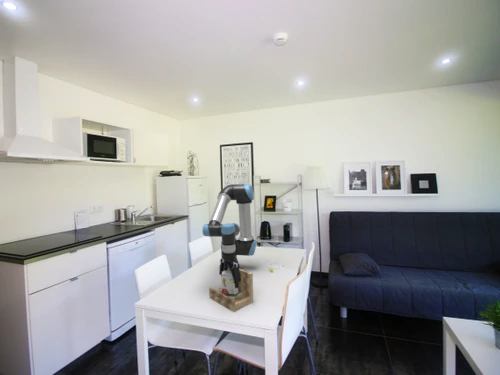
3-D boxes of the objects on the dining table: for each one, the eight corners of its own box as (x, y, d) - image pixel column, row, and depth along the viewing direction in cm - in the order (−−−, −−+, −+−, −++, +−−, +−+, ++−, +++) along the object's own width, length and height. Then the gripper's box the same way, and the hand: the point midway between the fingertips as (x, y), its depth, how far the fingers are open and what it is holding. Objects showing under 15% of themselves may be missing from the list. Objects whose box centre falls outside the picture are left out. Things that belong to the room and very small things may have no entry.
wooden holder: (209, 297, 144) (208, 270, 144) (228, 289, 154) (227, 264, 153) (233, 311, 128) (232, 281, 128) (253, 301, 138) (252, 273, 137)
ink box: (221, 293, 139) (220, 273, 139) (224, 289, 144) (223, 269, 144) (236, 294, 138) (235, 273, 137) (238, 290, 142) (237, 270, 142)
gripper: (212, 249, 145) (213, 286, 146) (236, 257, 129) (237, 299, 130) (222, 246, 150) (223, 282, 151) (247, 253, 134) (248, 294, 135)
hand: (230, 290), depth 141 cm, fingers closed on ink box, 9 cm apart
